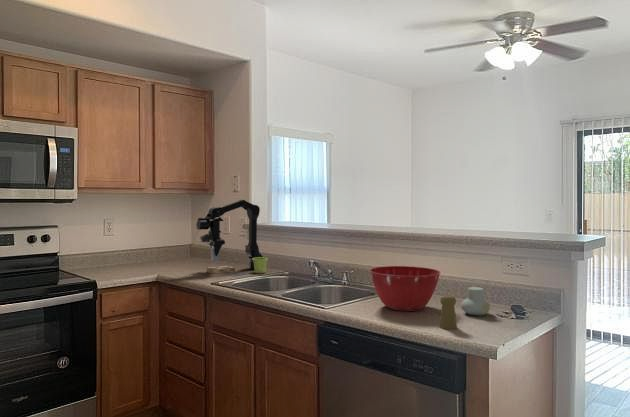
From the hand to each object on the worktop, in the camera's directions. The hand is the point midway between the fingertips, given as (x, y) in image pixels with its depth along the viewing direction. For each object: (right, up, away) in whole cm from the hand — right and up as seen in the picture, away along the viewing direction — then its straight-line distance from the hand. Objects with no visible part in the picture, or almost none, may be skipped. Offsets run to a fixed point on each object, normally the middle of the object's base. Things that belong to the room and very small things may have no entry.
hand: (215, 255), depth 287 cm
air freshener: (+121, -14, -96) cm, 155 cm away
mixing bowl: (+95, -13, -86) cm, 129 cm away
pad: (+14, -10, -3) cm, 18 cm away
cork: (+105, -14, -115) cm, 157 cm away
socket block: (+3, -10, +2) cm, 11 cm away
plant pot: (+26, -11, +1) cm, 28 cm away
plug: (0, -3, 0) cm, 3 cm away
